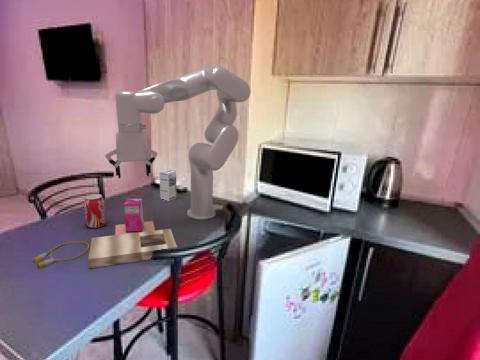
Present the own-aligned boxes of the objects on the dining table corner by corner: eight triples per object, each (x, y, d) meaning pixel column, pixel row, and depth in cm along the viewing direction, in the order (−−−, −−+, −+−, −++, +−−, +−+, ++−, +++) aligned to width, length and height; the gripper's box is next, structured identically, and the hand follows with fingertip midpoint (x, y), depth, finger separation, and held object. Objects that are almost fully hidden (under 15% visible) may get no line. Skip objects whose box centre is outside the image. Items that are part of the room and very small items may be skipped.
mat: (152, 222, 120) (152, 221, 120) (156, 235, 109) (156, 234, 109) (115, 226, 115) (115, 224, 115) (115, 240, 104) (115, 238, 104)
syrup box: (168, 201, 143) (168, 173, 139) (160, 199, 146) (159, 171, 142) (176, 198, 148) (176, 170, 144) (168, 196, 150) (167, 168, 146)
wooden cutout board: (170, 236, 109) (170, 228, 108) (177, 255, 97) (177, 247, 96) (92, 245, 100) (92, 237, 99) (89, 268, 87) (88, 259, 87)
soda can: (98, 230, 111) (95, 200, 108) (82, 227, 112) (78, 198, 109) (110, 222, 118) (107, 194, 114) (94, 220, 119) (91, 192, 116)
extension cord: (32, 253, 95) (31, 247, 94) (86, 241, 104) (86, 236, 103) (33, 271, 85) (32, 265, 85) (93, 257, 94) (92, 251, 94)
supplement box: (128, 226, 114) (126, 198, 111) (144, 225, 115) (142, 198, 112) (124, 232, 109) (123, 203, 105) (141, 232, 110) (140, 203, 106)
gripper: (154, 126, 108) (157, 171, 113) (103, 127, 102) (108, 175, 107) (157, 129, 101) (159, 177, 106) (101, 130, 95) (107, 181, 100)
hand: (133, 176), depth 106 cm, fingers open, 9 cm apart
